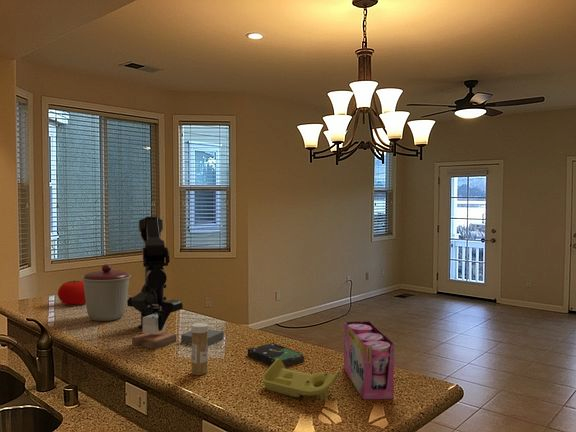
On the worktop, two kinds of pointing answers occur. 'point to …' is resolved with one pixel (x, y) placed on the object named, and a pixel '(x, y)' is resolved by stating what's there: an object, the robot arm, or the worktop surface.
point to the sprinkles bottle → (199, 348)
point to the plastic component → (297, 381)
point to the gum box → (369, 360)
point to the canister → (106, 293)
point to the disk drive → (275, 354)
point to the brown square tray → (154, 340)
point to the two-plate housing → (151, 324)
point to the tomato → (72, 293)
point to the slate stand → (212, 337)
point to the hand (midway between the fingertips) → (154, 329)
